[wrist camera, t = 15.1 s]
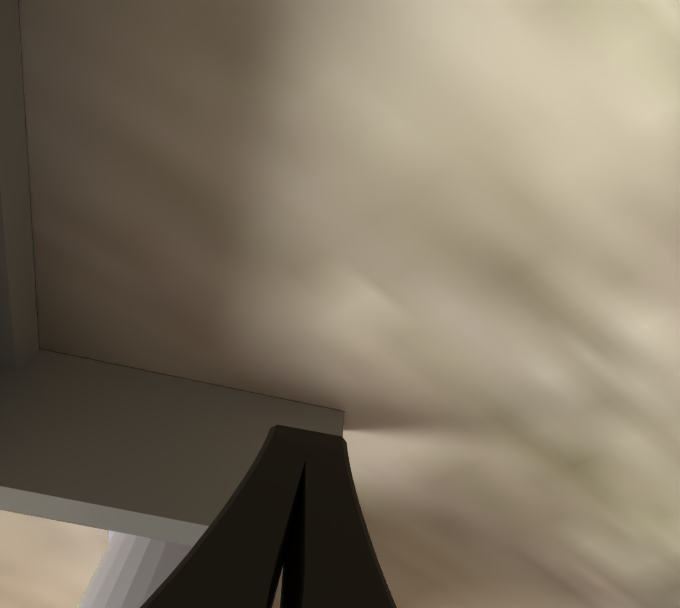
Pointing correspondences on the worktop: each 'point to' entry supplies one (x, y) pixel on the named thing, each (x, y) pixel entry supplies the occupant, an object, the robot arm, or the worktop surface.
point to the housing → (108, 396)
